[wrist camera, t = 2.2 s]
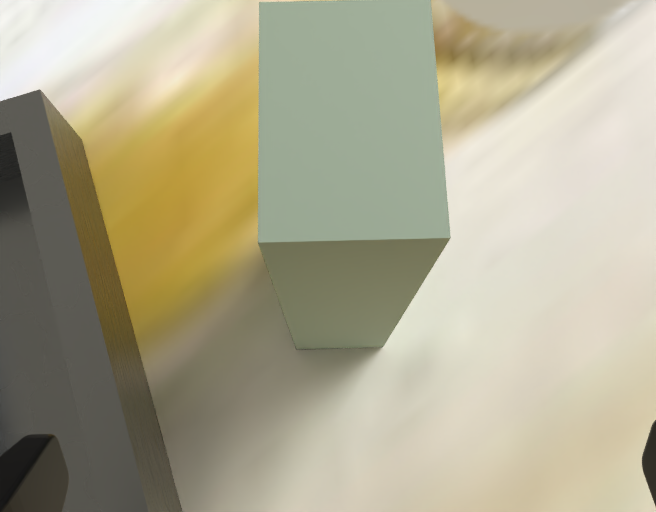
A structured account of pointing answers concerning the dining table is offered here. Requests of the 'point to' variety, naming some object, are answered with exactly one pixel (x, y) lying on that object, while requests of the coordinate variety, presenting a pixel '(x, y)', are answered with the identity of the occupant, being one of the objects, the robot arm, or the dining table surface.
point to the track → (70, 323)
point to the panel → (349, 164)
